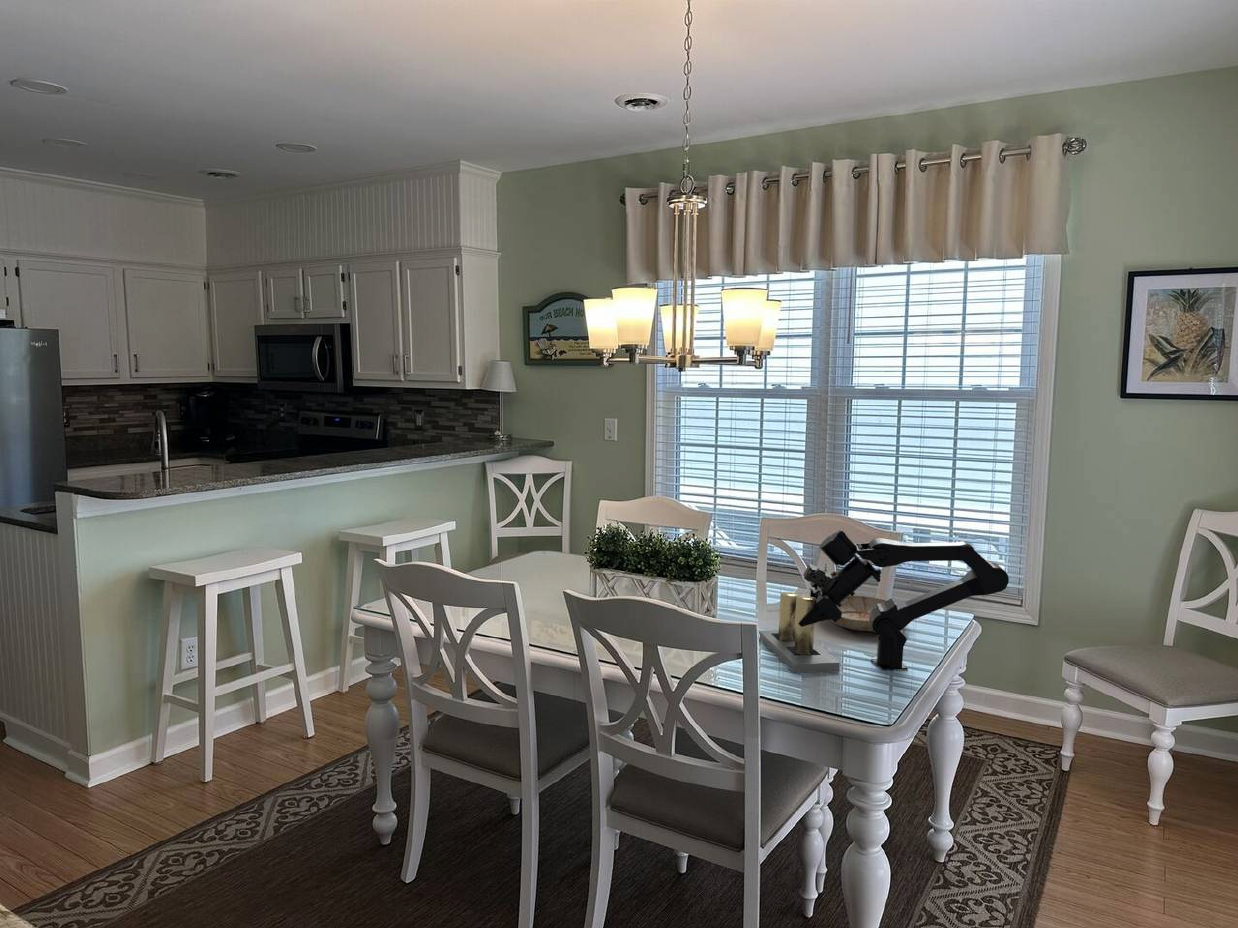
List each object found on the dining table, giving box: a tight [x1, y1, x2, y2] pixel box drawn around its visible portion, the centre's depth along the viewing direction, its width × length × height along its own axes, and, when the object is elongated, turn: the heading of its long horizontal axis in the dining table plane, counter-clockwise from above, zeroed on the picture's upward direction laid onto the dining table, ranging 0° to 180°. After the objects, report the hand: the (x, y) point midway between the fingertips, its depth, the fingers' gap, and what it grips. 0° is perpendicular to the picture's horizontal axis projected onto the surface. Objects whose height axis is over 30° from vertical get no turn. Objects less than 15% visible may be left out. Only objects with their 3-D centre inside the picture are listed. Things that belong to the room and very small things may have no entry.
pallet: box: [758, 629, 841, 674], centre depth 208 cm, size 24×11×2 cm, turn 10°
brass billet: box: [794, 595, 816, 655], centre depth 204 cm, size 4×4×13 cm
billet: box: [778, 591, 800, 642], centre depth 214 cm, size 4×4×13 cm
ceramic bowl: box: [828, 594, 887, 632], centre depth 233 cm, size 23×24×5 cm
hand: (799, 622), depth 204 cm, fingers closed on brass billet, 4 cm apart
